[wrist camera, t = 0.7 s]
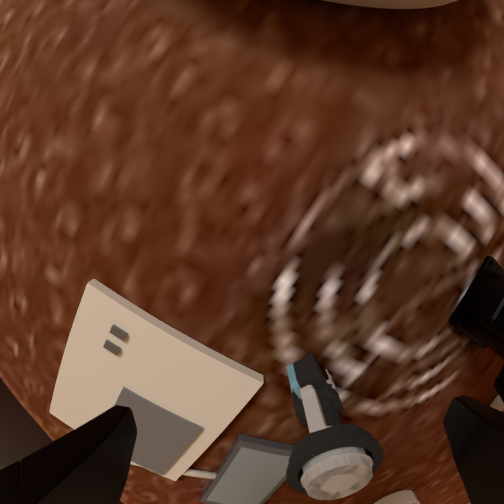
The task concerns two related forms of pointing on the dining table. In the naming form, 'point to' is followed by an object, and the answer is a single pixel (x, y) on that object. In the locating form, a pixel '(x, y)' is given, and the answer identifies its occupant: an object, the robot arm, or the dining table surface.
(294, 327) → the dining table surface
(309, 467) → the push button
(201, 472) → the wooden dowel
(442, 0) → the bowl
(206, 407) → the outlet plate
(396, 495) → the white cup
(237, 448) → the phone slab
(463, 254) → the dining table surface
